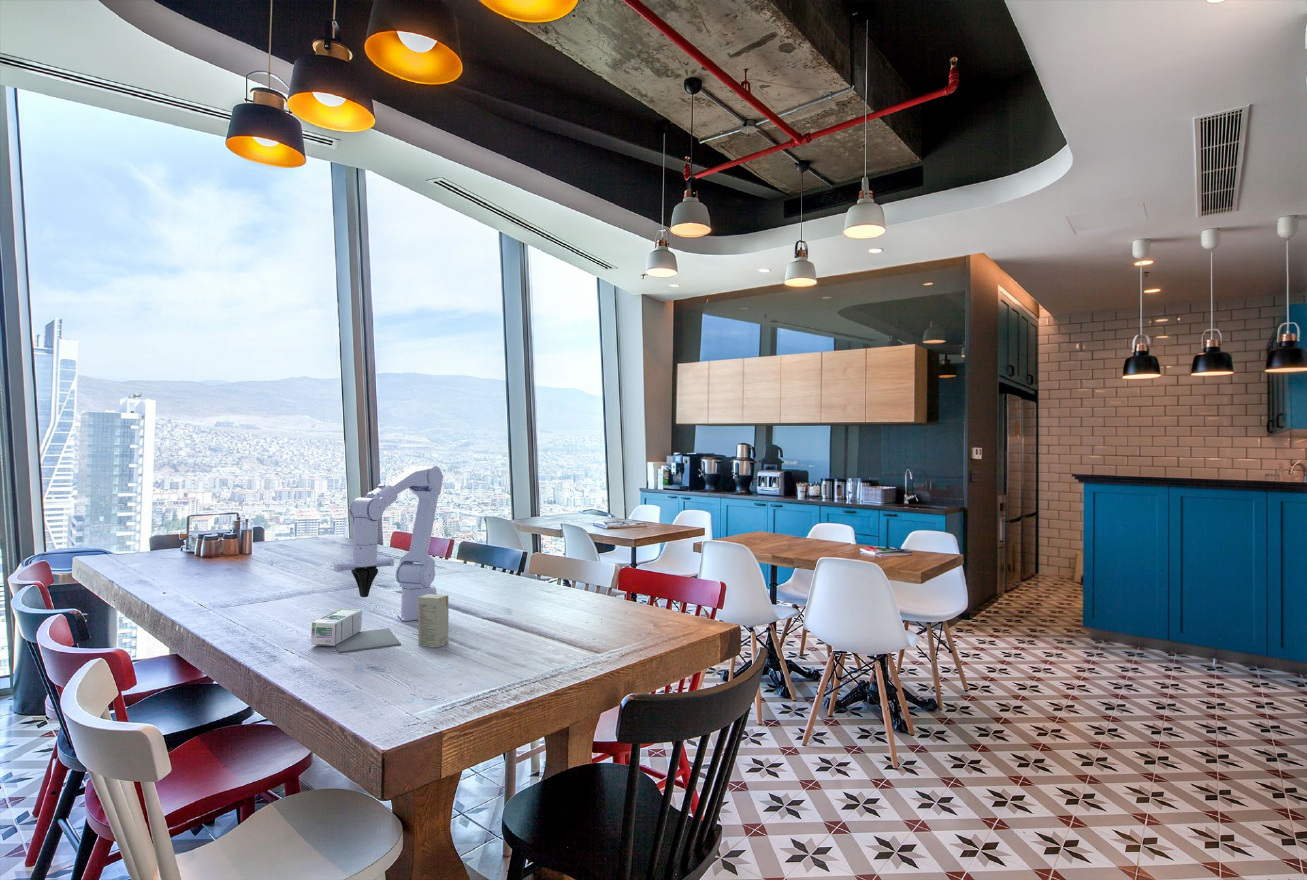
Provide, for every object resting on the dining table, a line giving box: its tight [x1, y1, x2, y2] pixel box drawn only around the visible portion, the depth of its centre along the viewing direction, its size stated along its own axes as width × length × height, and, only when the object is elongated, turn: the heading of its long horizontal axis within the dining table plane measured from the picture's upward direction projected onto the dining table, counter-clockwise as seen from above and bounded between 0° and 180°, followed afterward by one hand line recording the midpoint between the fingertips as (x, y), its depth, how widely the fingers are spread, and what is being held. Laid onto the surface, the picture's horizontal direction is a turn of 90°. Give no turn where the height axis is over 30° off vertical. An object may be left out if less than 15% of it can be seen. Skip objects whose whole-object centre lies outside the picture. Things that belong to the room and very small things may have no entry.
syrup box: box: [310, 608, 363, 647], centre depth 168 cm, size 6×6×14 cm
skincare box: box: [417, 593, 449, 648], centre depth 165 cm, size 6×4×12 cm
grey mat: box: [334, 627, 402, 654], centre depth 167 cm, size 14×16×1 cm
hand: (364, 596), depth 171 cm, fingers closed
